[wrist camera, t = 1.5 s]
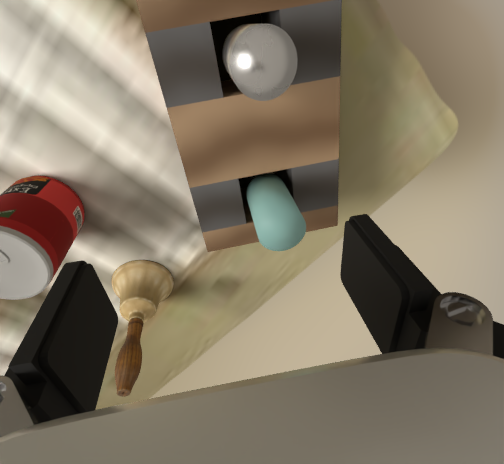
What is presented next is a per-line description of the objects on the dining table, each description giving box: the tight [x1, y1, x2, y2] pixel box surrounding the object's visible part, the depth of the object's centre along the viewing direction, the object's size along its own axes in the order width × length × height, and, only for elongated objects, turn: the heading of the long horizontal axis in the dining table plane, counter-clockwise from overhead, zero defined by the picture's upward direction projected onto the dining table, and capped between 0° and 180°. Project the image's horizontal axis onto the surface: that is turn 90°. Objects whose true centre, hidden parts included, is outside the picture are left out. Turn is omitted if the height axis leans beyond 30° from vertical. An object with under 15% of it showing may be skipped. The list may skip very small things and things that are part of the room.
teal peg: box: [246, 174, 306, 251], centre depth 28 cm, size 4×4×7 cm
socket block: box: [136, 0, 342, 252], centre depth 30 cm, size 22×14×8 cm, turn 8°
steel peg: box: [222, 24, 298, 101], centre depth 21 cm, size 4×4×7 cm
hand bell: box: [112, 260, 174, 396], centre depth 37 cm, size 8×8×16 cm
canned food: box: [0, 176, 84, 300], centre depth 31 cm, size 8×8×11 cm
